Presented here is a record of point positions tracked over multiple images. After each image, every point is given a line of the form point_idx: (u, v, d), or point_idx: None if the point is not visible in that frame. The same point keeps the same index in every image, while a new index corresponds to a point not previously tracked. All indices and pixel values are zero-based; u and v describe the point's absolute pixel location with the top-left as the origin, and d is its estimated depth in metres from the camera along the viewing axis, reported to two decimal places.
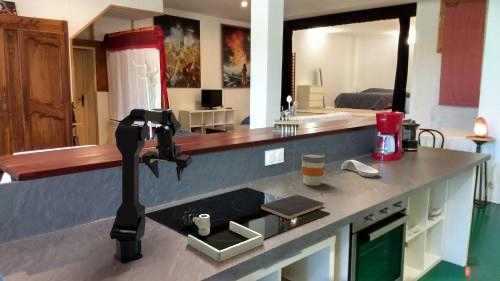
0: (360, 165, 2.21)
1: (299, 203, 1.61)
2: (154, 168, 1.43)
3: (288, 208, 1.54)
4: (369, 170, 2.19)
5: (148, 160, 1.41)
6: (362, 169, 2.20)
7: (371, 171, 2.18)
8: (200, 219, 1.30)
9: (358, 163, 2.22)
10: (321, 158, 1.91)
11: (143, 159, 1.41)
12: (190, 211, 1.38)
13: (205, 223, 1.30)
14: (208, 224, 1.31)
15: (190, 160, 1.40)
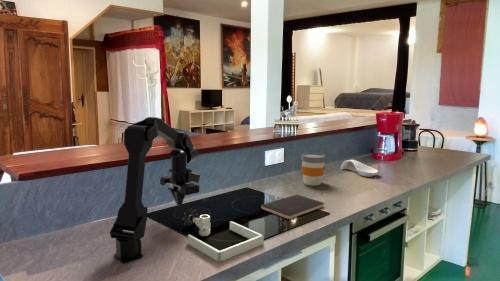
0: (360, 165, 2.21)
1: (299, 203, 1.61)
2: None
3: (288, 208, 1.54)
4: (369, 170, 2.19)
5: (163, 182, 1.44)
6: (362, 169, 2.20)
7: (371, 171, 2.18)
8: (201, 219, 1.30)
9: (358, 163, 2.22)
10: (321, 158, 1.91)
11: (161, 181, 1.45)
12: (190, 212, 1.38)
13: (206, 223, 1.30)
14: (209, 224, 1.30)
15: (195, 189, 1.36)
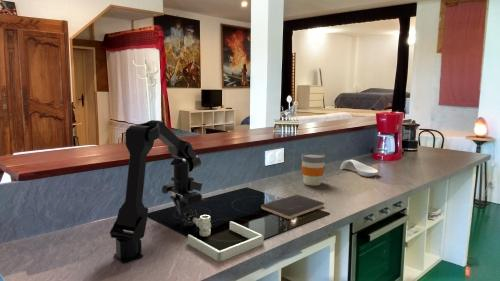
0: (359, 165, 2.22)
1: (299, 203, 1.61)
2: None
3: (288, 208, 1.54)
4: (368, 170, 2.20)
5: (165, 191, 1.43)
6: (361, 169, 2.20)
7: (370, 171, 2.19)
8: (201, 220, 1.29)
9: (357, 163, 2.22)
10: (321, 158, 1.91)
11: (163, 189, 1.45)
12: (190, 212, 1.38)
13: (206, 224, 1.29)
14: (209, 225, 1.30)
15: (198, 198, 1.35)
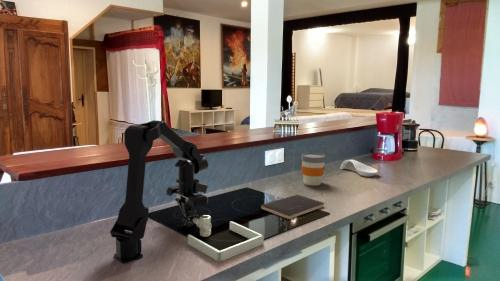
0: (359, 165, 2.22)
1: (299, 203, 1.61)
2: None
3: (288, 208, 1.54)
4: (368, 170, 2.20)
5: (170, 193, 1.41)
6: (361, 169, 2.21)
7: (370, 171, 2.19)
8: (201, 220, 1.29)
9: (357, 163, 2.22)
10: (321, 158, 1.91)
11: (167, 191, 1.42)
12: (190, 212, 1.37)
13: (206, 224, 1.29)
14: (209, 225, 1.30)
15: (203, 201, 1.33)
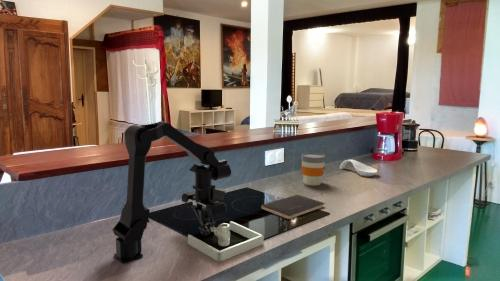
0: (359, 165, 2.22)
1: (299, 203, 1.61)
2: None
3: (288, 208, 1.54)
4: (368, 170, 2.20)
5: (186, 199, 1.34)
6: (361, 169, 2.21)
7: (370, 171, 2.19)
8: (220, 229, 1.22)
9: (357, 163, 2.23)
10: (321, 158, 1.91)
11: (183, 197, 1.35)
12: (207, 220, 1.30)
13: (225, 233, 1.22)
14: (228, 234, 1.23)
15: (222, 208, 1.25)
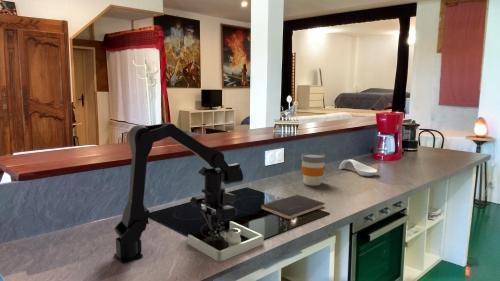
0: (358, 165, 2.22)
1: (299, 203, 1.61)
2: None
3: (288, 208, 1.54)
4: (367, 169, 2.20)
5: (195, 203, 1.30)
6: (360, 168, 2.21)
7: (369, 170, 2.19)
8: (231, 234, 1.18)
9: (356, 163, 2.23)
10: (321, 158, 1.91)
11: (191, 201, 1.31)
12: (217, 224, 1.26)
13: (236, 238, 1.18)
14: (239, 239, 1.19)
15: (232, 213, 1.22)
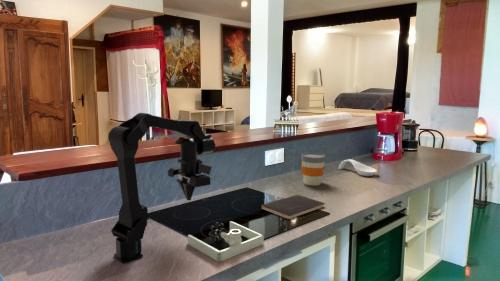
0: (358, 164, 2.23)
1: (299, 203, 1.61)
2: None
3: (288, 208, 1.54)
4: (367, 169, 2.21)
5: (172, 173, 1.32)
6: (360, 168, 2.21)
7: (369, 170, 2.20)
8: (231, 235, 1.18)
9: (356, 162, 2.23)
10: (321, 158, 1.91)
11: (169, 172, 1.34)
12: (217, 225, 1.26)
13: (237, 239, 1.18)
14: (240, 240, 1.18)
15: (206, 181, 1.24)
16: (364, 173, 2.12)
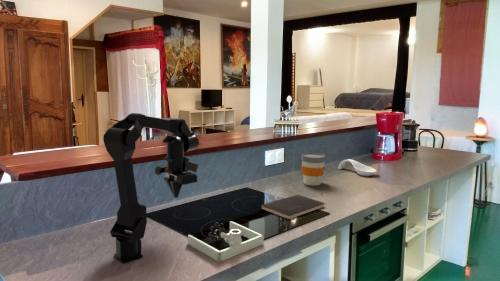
0: (358, 164, 2.23)
1: (299, 203, 1.61)
2: None
3: (288, 208, 1.54)
4: (367, 169, 2.21)
5: (159, 171, 1.34)
6: (360, 168, 2.22)
7: (369, 170, 2.20)
8: (231, 235, 1.18)
9: (356, 162, 2.23)
10: (321, 158, 1.91)
11: (156, 170, 1.35)
12: (216, 226, 1.25)
13: (237, 239, 1.18)
14: (240, 240, 1.18)
15: (193, 179, 1.25)
16: (364, 173, 2.12)
